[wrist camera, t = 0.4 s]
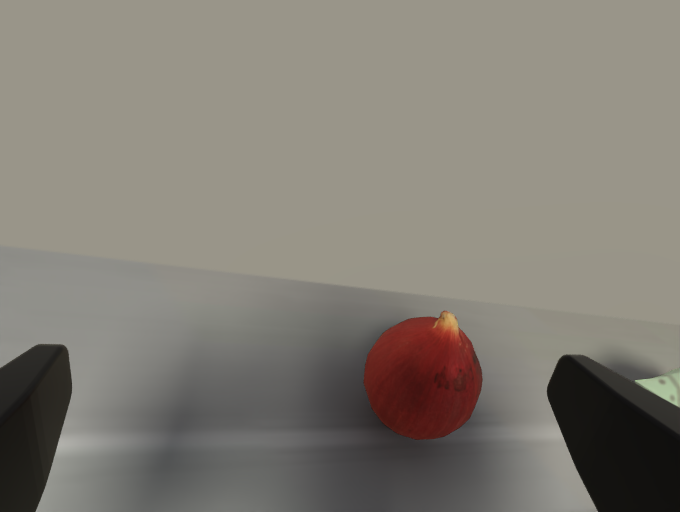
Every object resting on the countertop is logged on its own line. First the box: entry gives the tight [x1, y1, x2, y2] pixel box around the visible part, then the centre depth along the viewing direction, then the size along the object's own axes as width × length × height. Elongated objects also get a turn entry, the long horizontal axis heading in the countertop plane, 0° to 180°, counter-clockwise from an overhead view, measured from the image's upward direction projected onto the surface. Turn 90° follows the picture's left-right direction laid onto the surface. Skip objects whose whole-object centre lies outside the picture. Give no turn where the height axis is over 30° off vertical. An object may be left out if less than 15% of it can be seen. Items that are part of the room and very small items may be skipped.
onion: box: [364, 311, 483, 440], centre depth 25 cm, size 6×6×8 cm
